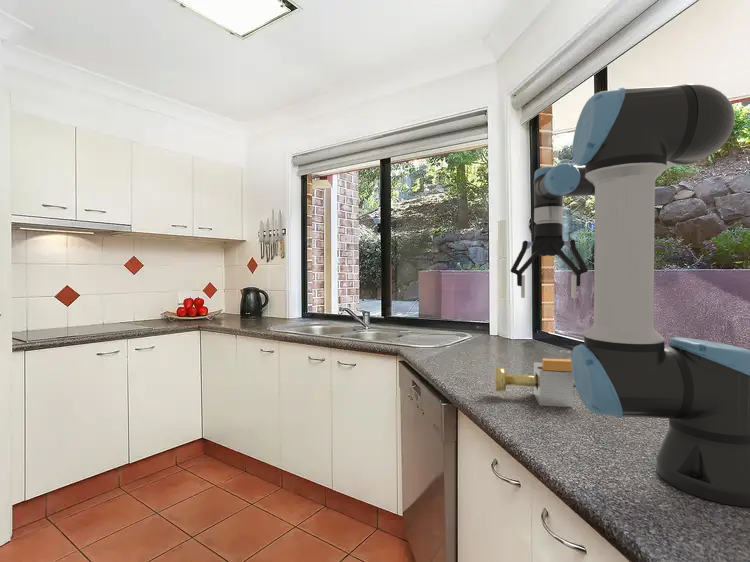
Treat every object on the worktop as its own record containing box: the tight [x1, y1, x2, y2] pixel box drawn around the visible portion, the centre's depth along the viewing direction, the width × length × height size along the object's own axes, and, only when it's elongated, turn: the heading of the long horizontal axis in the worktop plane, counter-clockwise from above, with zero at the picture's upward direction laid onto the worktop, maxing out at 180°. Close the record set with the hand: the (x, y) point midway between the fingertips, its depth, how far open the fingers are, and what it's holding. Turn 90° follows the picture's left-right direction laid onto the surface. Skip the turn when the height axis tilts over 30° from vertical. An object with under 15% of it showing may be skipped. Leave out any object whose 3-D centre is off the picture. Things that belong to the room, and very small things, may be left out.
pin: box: [494, 367, 538, 392], centre depth 112 cm, size 6×16×6 cm, turn 77°
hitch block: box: [533, 361, 574, 408], centre depth 110 cm, size 10×8×9 cm
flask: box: [559, 350, 576, 387], centre depth 126 cm, size 7×7×10 cm
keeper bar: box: [541, 357, 572, 371], centre depth 106 cm, size 3×10×4 cm, turn 77°
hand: (547, 297), depth 118 cm, fingers open, 13 cm apart
